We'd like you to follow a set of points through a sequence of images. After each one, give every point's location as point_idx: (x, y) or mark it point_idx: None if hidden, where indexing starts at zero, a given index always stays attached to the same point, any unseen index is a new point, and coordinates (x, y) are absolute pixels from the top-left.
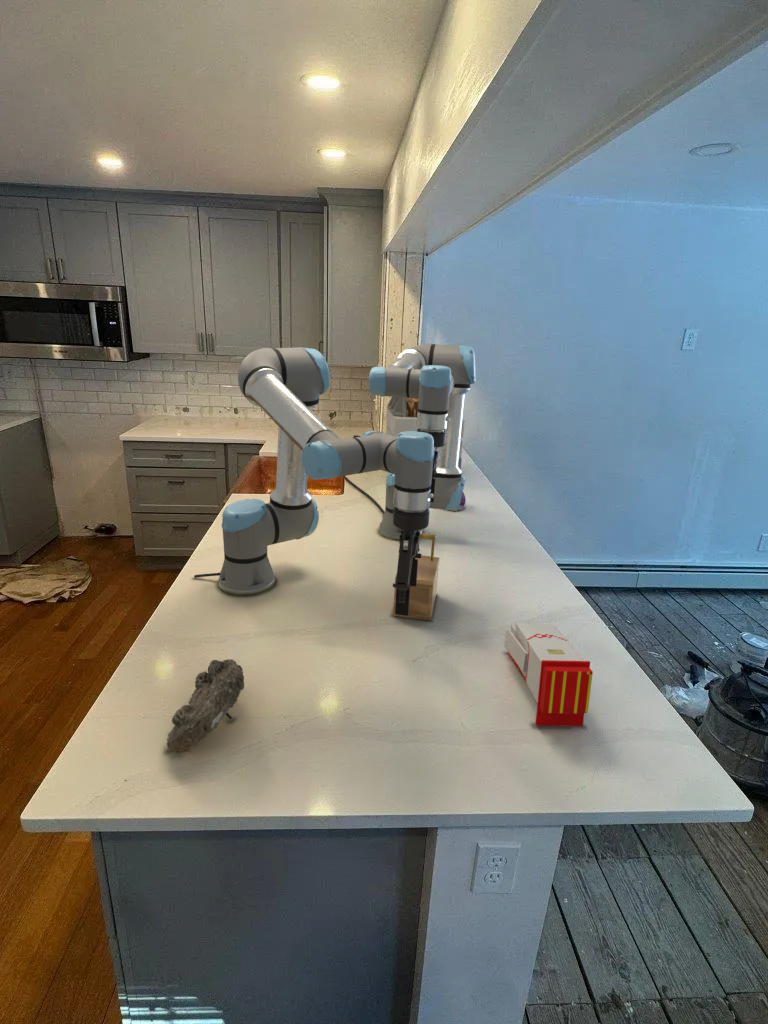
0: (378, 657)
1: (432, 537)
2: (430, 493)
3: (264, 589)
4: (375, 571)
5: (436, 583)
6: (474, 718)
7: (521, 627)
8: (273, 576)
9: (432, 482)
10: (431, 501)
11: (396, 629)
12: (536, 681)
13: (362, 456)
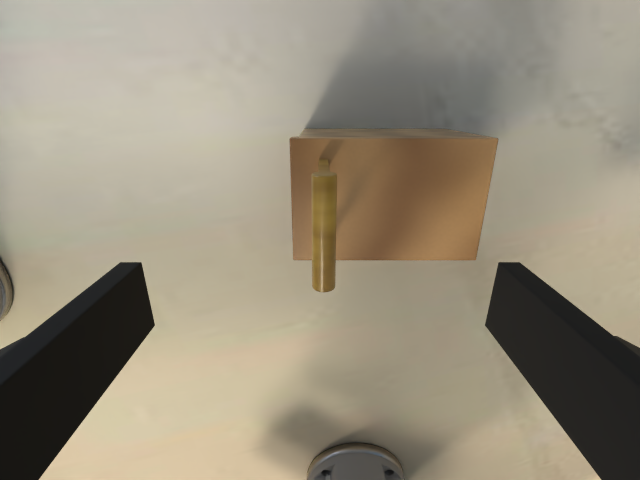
0: (600, 219)
1: (336, 187)
2: (108, 325)
3: (381, 450)
4: (225, 292)
5: (327, 131)
6: None
7: None
8: (349, 458)
9: (19, 402)
10: (142, 278)
11: (491, 202)
12: None
13: None
